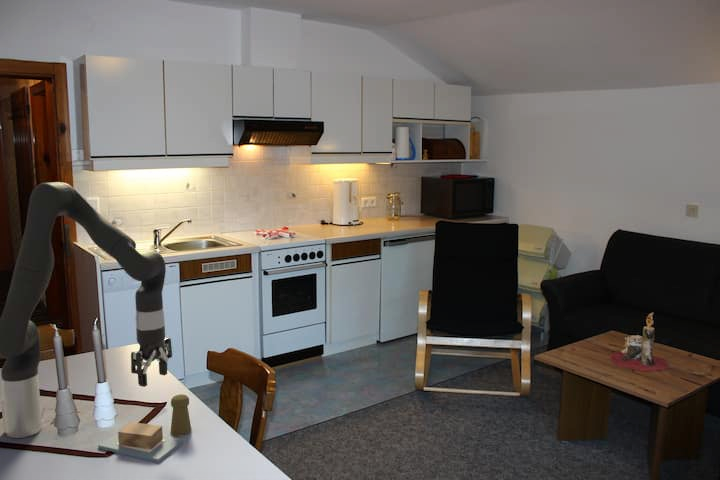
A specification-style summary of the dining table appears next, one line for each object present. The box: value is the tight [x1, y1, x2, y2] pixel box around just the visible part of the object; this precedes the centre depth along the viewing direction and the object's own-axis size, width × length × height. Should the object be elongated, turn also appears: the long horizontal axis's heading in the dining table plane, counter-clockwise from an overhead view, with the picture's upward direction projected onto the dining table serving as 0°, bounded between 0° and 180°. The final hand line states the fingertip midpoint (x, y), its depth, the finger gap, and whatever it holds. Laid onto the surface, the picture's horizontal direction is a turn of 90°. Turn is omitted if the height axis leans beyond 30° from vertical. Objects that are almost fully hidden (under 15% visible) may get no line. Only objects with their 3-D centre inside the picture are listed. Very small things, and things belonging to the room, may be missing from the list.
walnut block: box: [117, 421, 164, 449], centre depth 174 cm, size 10×6×4 cm, turn 79°
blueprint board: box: [97, 432, 184, 464], centre depth 175 cm, size 20×11×1 cm, turn 70°
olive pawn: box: [170, 393, 192, 437], centre depth 183 cm, size 6×6×11 cm
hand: (153, 380), depth 174 cm, fingers open, 8 cm apart
